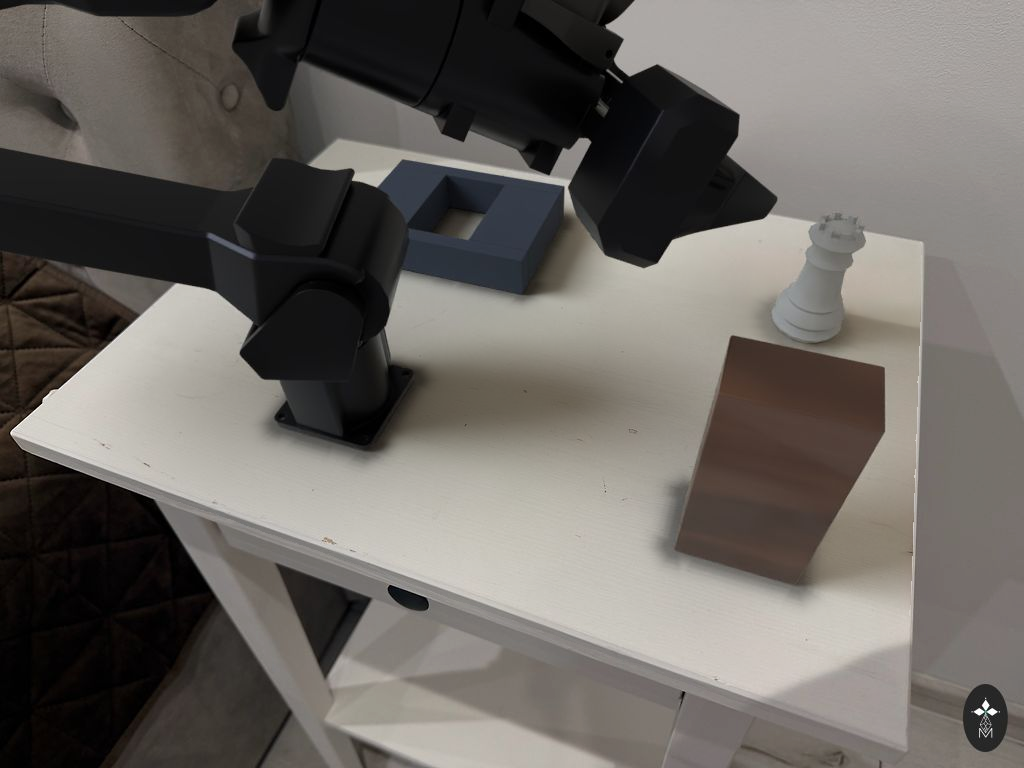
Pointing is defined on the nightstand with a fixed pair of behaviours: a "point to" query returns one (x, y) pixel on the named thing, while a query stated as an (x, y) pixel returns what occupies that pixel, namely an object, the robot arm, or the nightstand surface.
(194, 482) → the nightstand surface
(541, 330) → the nightstand surface
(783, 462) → the brown wooden block
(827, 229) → the rook chess piece
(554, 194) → the blue rectangular frame
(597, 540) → the nightstand surface
